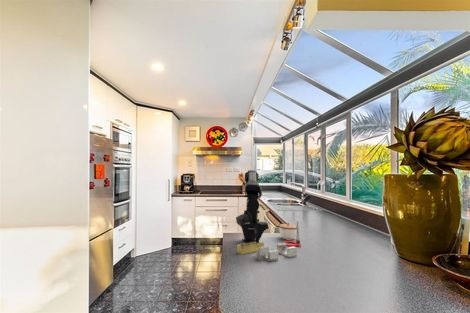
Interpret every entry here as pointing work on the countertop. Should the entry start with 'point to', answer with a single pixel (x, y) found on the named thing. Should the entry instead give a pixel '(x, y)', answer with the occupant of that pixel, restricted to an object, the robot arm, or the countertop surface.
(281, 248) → the chain ends
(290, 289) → the countertop surface
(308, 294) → the countertop surface
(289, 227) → the lidded jar
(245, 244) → the link
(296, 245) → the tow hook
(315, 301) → the countertop surface
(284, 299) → the countertop surface
